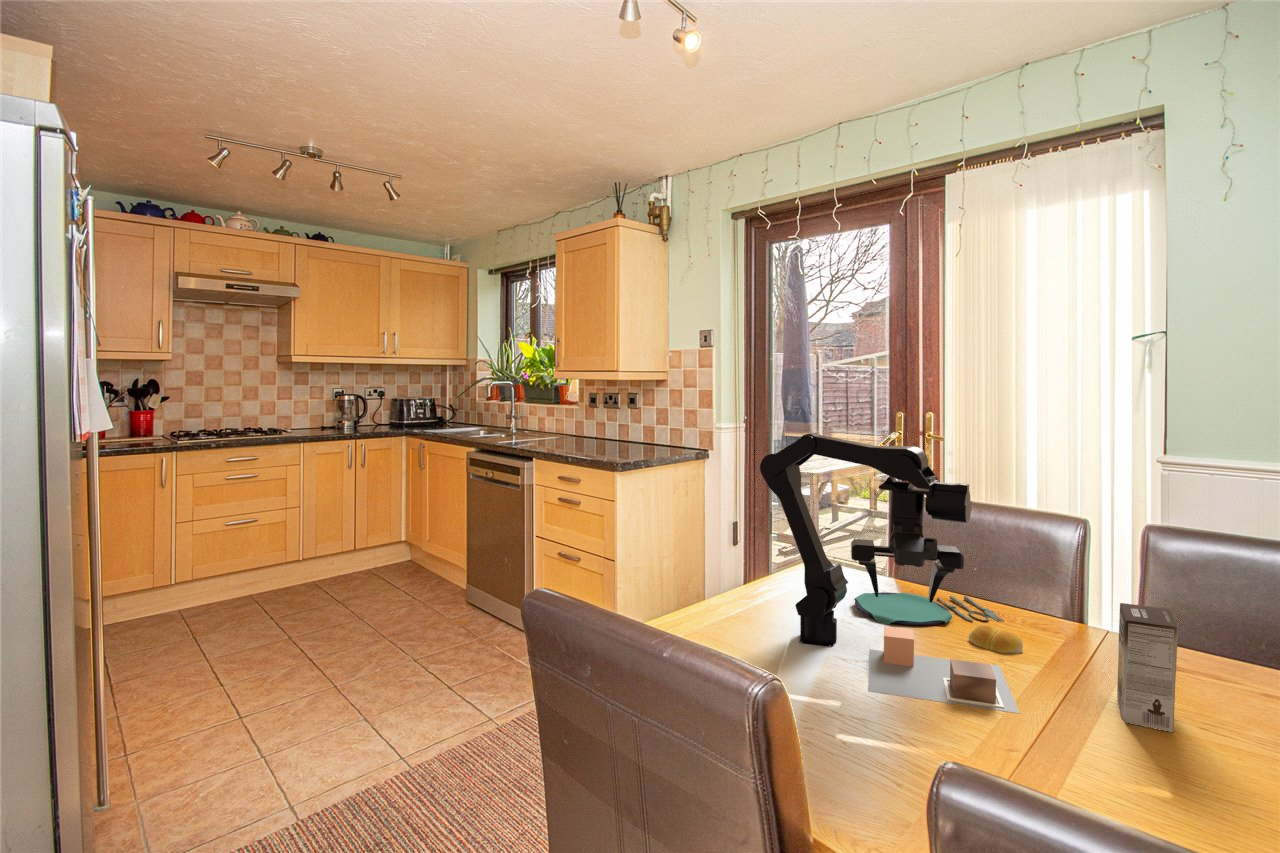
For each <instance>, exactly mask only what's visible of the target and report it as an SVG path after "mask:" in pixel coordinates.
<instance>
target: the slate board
mask: <svg viewBox="0 0 1280 853" xmlns="http://www.w3.org/2000/svg"><path fill="white" fill-rule="evenodd" d="M868 660H869V661H868V664H869V665H868V666H869V667H868V685H867V686H868V689H867V690H868V692H871V693H877V694H883V695H890V696H897V697H903V698H911V699H918V700H926V701H933V702H937V703H944V704H950V705H951V704H952V705H958V706H959V705H960V706H966V707H973V708H979V709H984V710H985V709H987V710H992V711H998V712H999V711H1000V712H1006V713H1012V714H1021V713H1020V710H1019V708H1018V706H1017V703H1016V701H1015V699H1014V696H1013V694H1012V692H1011V690H1010V687H1009V685H1008V682H1007V680H1006V678H1005V676H1004V673H1003V671H1002V668H1001V666H1000V665H997V664H990V663H989V664H990V665H991V668H992V670H993V673H994V675H995V678H996V704H991V703H984V702H977V701H970V700H963V699H956V698H954V697H953V693H952V689H951V684H950V658H942V657H941V658H940V657H934V656H926V655H925V656H924V655H917V654H914V667H913V666H905V665H897V664H890V663H884V650H878V649H869V659H868Z"/></svg>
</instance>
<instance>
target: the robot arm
mask: <svg viewBox="0 0 1280 853" xmlns="http://www.w3.org/2000/svg"><path fill="white" fill-rule="evenodd" d="M815 455H817V456H820V457H825V458H829V459H835V460H839V461H844V462H849V463H853V464H858V465H862V466H868V467H870V468H873V469H875V470H877V471H879V472H880V473H881V474H884V475H886V476H889V477H887V478H886V480H884V481H883V483H882V484H879V485H878V489H879V490H881V491H890V496H889V497H890V498H889V499H890V500H889V501H890V502H889V520H888V522H889V523H888V524H889V525H888V526H889V528H888V546H885V545H875V542H874V540H873V539H860V538H854V539H853V540H851V542H850V556H851V560H853V561H858V564H859V565H860V566H864V567H865V570H866V571H867V573H868V576H869V577H870V578H869V579H870V581H871V584H872V586H871V587H872V588H873V593H875V596H876V597H878V593H879V583H878V575H877V563H876V557H885V558H893V562H894V564H895V565H897V566H901V567H904V566H914V567H916V568H920V567H921V568H922V567H924V566H925V561H931V570H930V571H931V572H930V579H929V586H928V598H929V602H931V603H932V601H934V599H935V597H936V595H937V593H938V590H939V587H940V585H941V583H942V582H943V580H944V578H945V577H946V576H947V575H948V574H951V573H952V574H953V573H955V572H956V570H964V566H965V564H964V562H965V558H964V555H963V553H962V552H961V550H960V549H959V548H958V547H957V546H955V545H954V546H953V545H941V544H938V540H937V538H935V537H934V538H931V537H924V515H925V514H924V513H927V515H928V516H931V519H932V520H937V521H943V522H945V521H946V522H953V523H959V524H960V523H961V524H969V522H970V520H971V516H972V515H971V514H972V504H973V502H972V500H971V491H970V484H969V483H965V482H964V483H962V482H961V483H960V482H959V483H951V482H943V481H942V482H941V481H940V479H939V477H937V475H936V473H935V472H934V471H933V470H932V468H931V467H930V465H929V457H928V455H927V454H926V452H925V451H924V449H922V448H920V447H917V446H915V445H914V446H910V445H873V444H869V443H868V444H867V443H865V442H864V443H862V442H859V441H854V440H847V439H841V438H838V437H832V436H828V435H823V434H820V433H818V432H811V433H805V434H803V435H801V436H800V437H799V438H798V439H797V440H795V441H794V442H793V443H791V444H789V445H787V446H786V447H784V448H782V449H781V450H779V451H778V452H776V453H774V452H773V453H770V454H769V453H768V454H766V455H765V456H764V457H763V458H762V459H761V462H760V464H759V473H760V474H761V476H762V478H763V479H764V482H765V483H766V485H767V487H768V488H769V489H770V491H771V492H772V493H773V494H775V496H776V497H777V498H778V500H779V501H780V504H781V507H782V510H783V512H784V515H785V517H786V521H787V523H788V525H789V526H788V527H789V528H790V531H791V534H792V537H793V539H794V541H795V544H796V547H797V550H798V553H799V554H800V558H801V560H802V563H803V567H804V574H803V575H804V579H803V580H804V587H805V592H806V595H805V596H804V597H803V598H801V599H800V600H799V601H797V603H795V609H796V612H797V615H798V616H800V617H799V618H800V621H799V622H800V623H799V624H800V625H799V626H800V627H799V629H800V631H799V632H800V635H799V636H800V638H799V640H798V643H799V644H802V645H803V644H804V645H809V646H810V645H811V646H812V645H813V646H818V647H819V646H820V647H826V648H833V647H834V644H836V643H837V639H838V638H837V637H838V619H837V618H835V610H834V609H835V608H837V606H838V604H839V603H840V602H842V601H843V599H844V598H846V594H848V593H847V592H848V588H847V584H848V583H849V581H848V580H847V578H846V577H845V575H844V571H843V567H842V564H841V563H837V564H835V565H834V564H833V563H832V562H831V561H830V560H829V558H828V557H827V555H826V552H825V550H824V549H825V548H824V547H823V545H822V542H821V540H820V537H819V534H818V531H817V528H816V526H815V524H814V521H813V518H812V516H811V514H810V513H811V512H810V511H809V508H808V505H807V503H806V499H805V498H804V495H803V492H802V473H801V469H800V466H802V465H803V464H805V463H806V462H808V460H810V459H811V458H812V457H813V456H815ZM925 495H926V496H925ZM924 510H925V511H926V512H924Z"/></svg>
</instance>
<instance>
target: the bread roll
mask: <svg viewBox="0 0 1280 853" xmlns="http://www.w3.org/2000/svg"><path fill="white" fill-rule="evenodd" d="M969 632H970V633H969V634H968V640H969V641H970V642H971V643H972V644H974V646H976V647H977V646H978V647H980V648H983V649H987V650H990V651H993V652H996V653H1001V654H1018V655H1019V654H1021V653H1022V651H1023V647H1024V646H1023V645H1024V643H1023V641H1022V639H1021V637H1020V636H1019V635H1018V634H1017V633H1014V632H1012V631H1009V630H1003V629H1001V630H1000V629H999V628H996V627H995V626H992V625H990V624H980V625H978V626H976V627H975V628H973V629H972V630H971V631H969Z"/></svg>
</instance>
